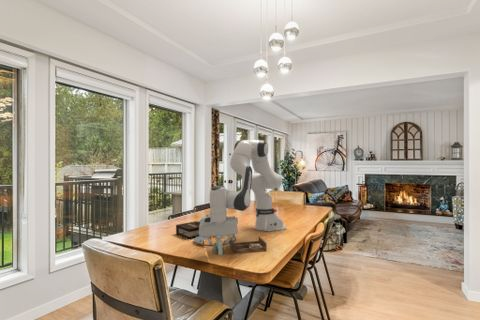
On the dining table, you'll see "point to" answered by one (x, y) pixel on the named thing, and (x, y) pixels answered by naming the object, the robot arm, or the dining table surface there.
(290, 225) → the dining table surface
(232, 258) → the dining table surface
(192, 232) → the decorative book
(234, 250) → the rack
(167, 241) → the dining table surface
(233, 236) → the food plate
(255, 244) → the offcut upper
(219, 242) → the board
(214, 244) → the stand
